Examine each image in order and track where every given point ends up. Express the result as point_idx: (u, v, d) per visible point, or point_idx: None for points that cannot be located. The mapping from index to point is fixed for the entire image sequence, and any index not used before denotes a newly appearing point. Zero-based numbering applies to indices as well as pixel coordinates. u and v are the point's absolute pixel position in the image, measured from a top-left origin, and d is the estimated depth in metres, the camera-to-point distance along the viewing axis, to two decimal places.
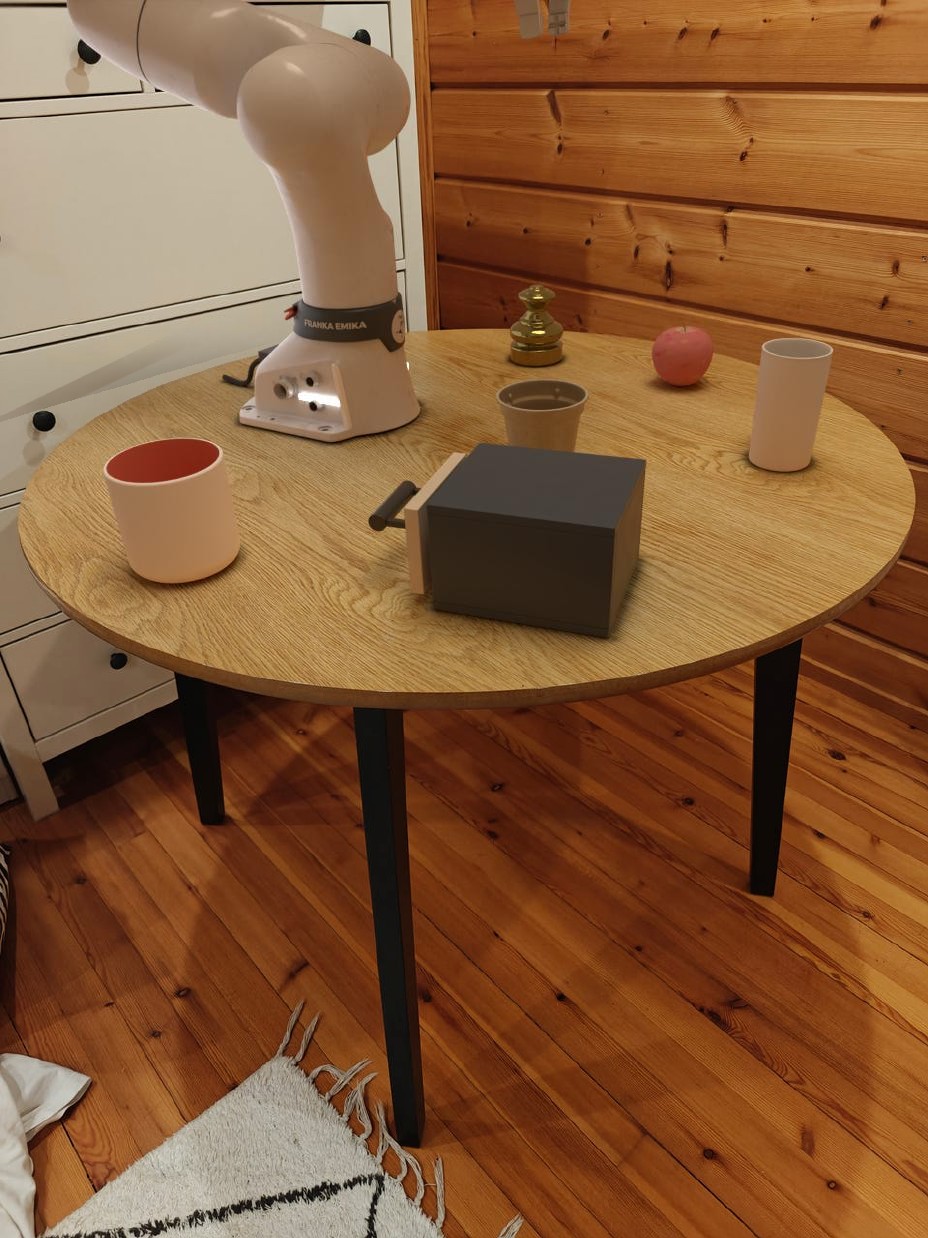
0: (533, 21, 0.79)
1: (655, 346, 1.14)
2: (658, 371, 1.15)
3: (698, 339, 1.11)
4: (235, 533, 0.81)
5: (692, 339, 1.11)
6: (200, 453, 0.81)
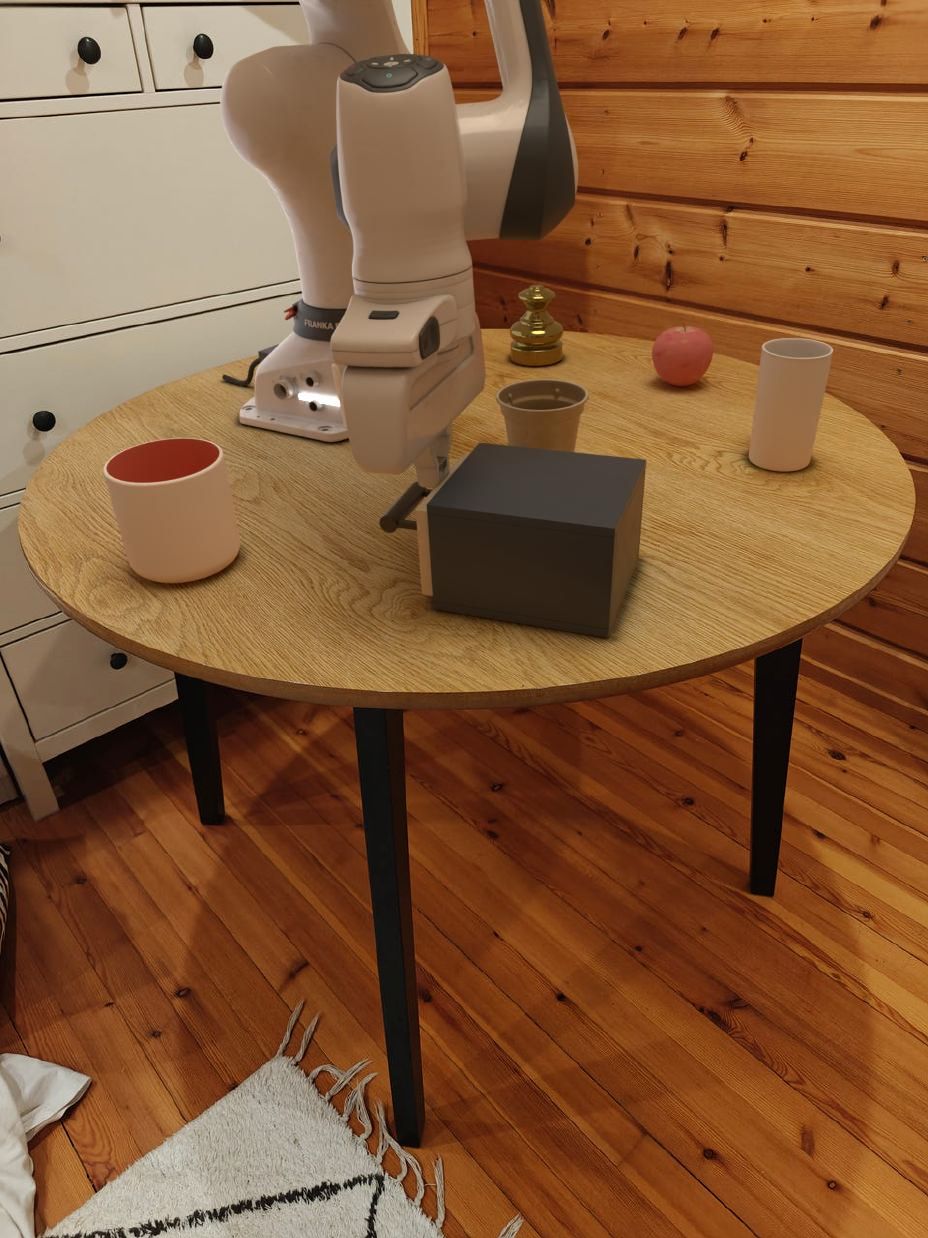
0: (431, 474, 0.73)
1: (655, 346, 1.14)
2: (658, 371, 1.15)
3: (698, 339, 1.11)
4: (235, 533, 0.81)
5: (692, 339, 1.11)
6: (200, 453, 0.81)
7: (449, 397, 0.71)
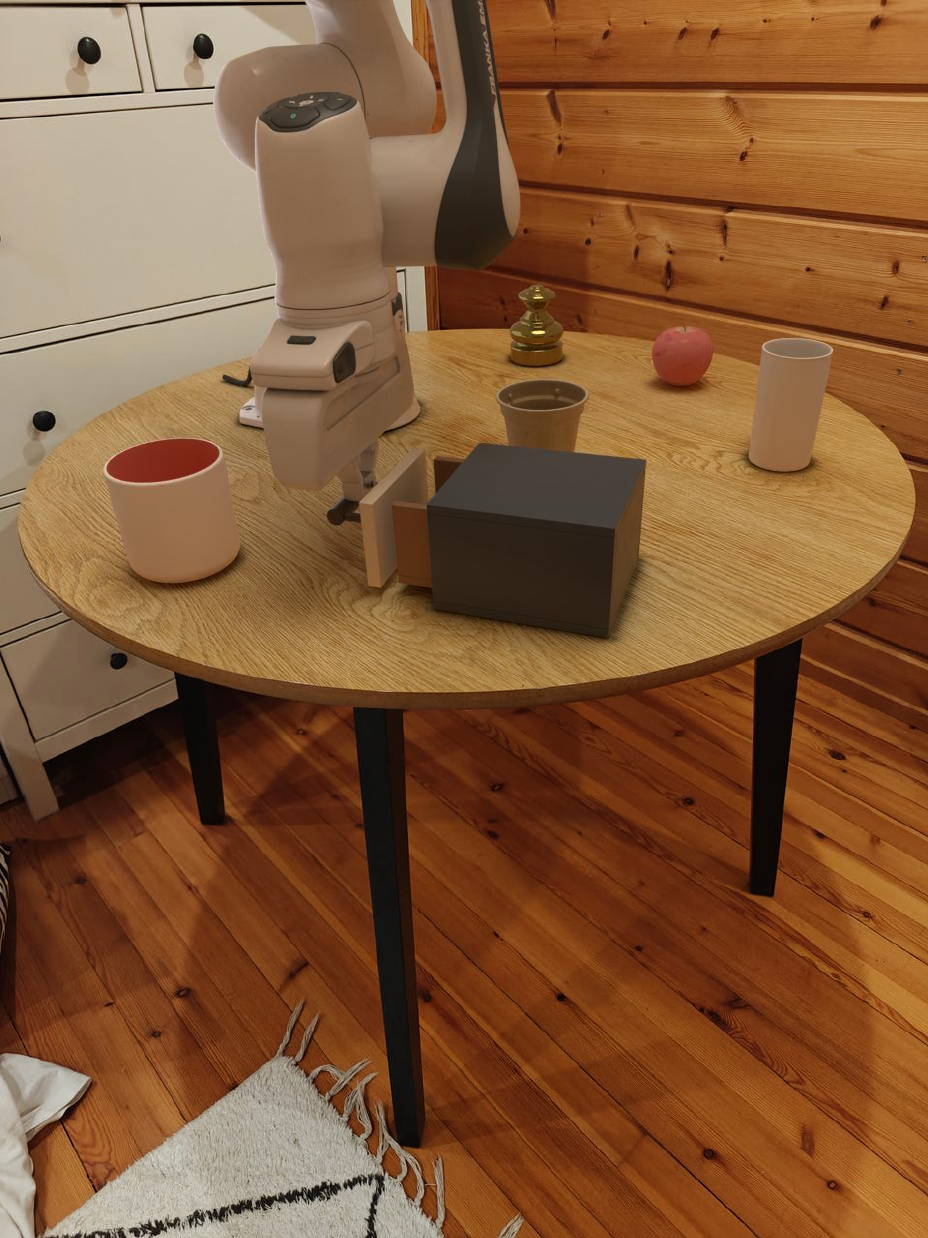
0: (356, 488, 0.76)
1: (655, 346, 1.14)
2: (658, 371, 1.15)
3: (698, 339, 1.11)
4: (235, 533, 0.81)
5: (692, 339, 1.11)
6: (200, 453, 0.81)
7: (372, 415, 0.74)
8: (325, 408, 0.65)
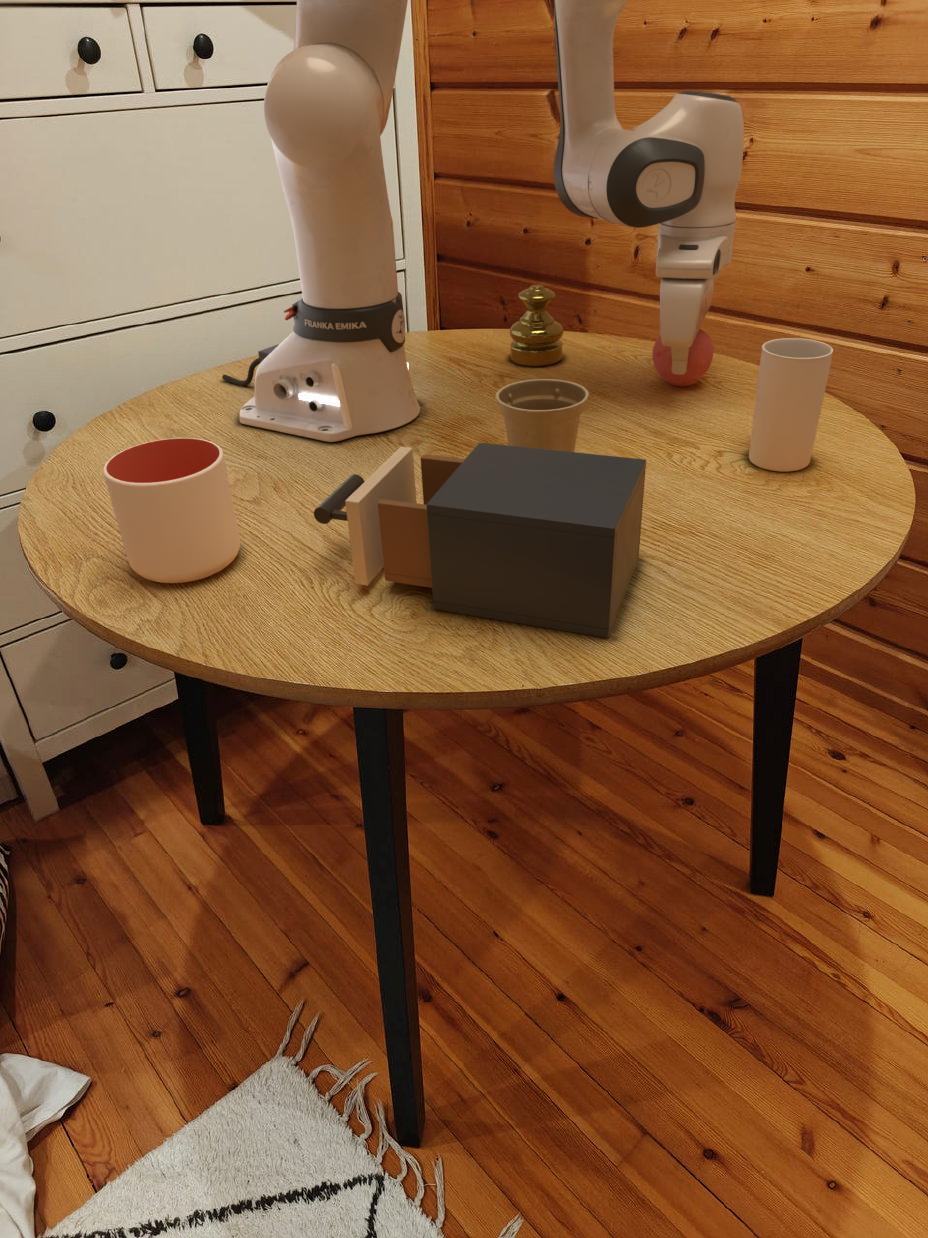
0: (682, 365, 1.10)
1: (655, 346, 1.14)
2: (658, 371, 1.15)
3: (698, 339, 1.11)
4: (235, 533, 0.81)
5: None
6: (200, 453, 0.81)
7: (704, 304, 1.11)
8: (704, 291, 1.02)
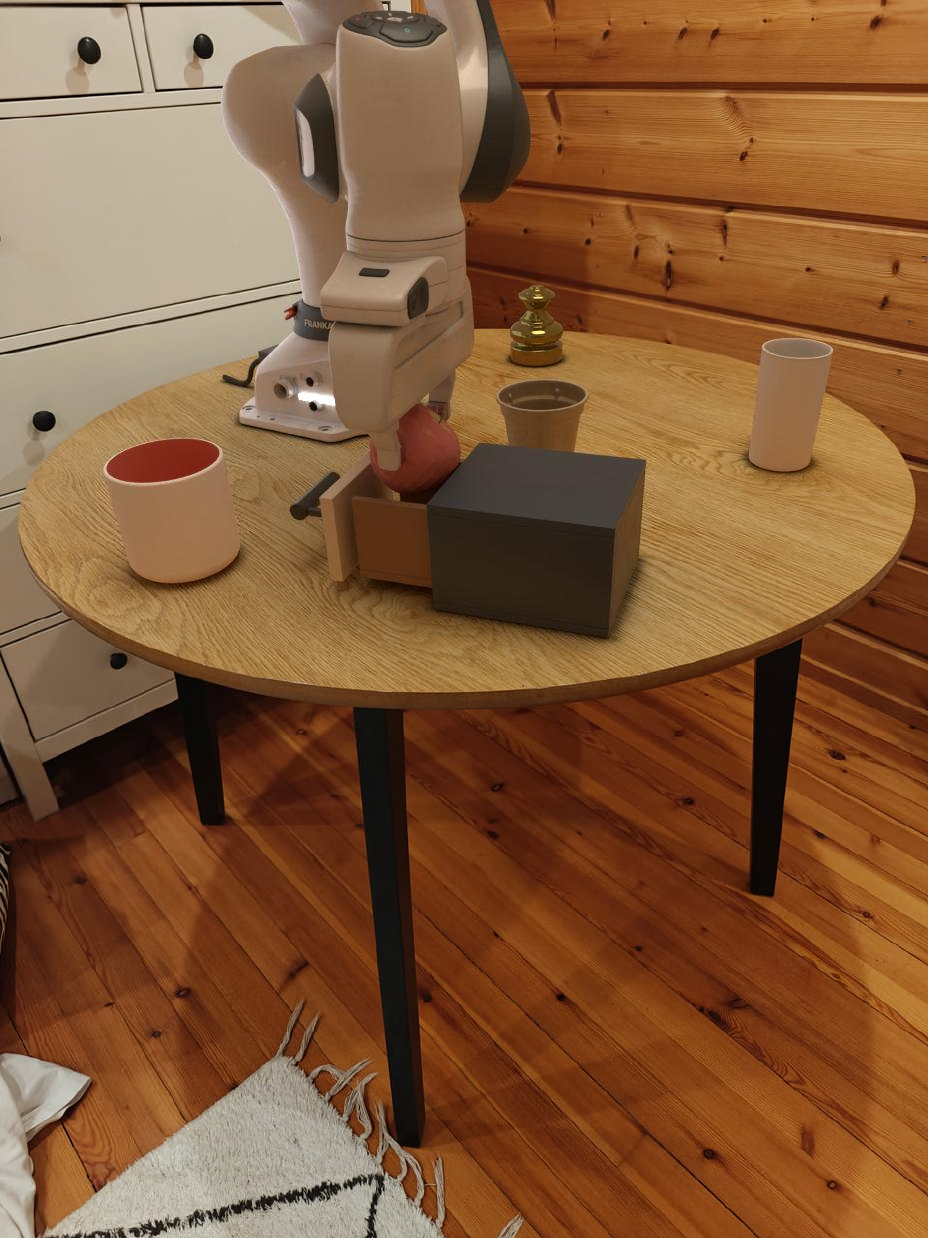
0: (392, 457, 0.70)
1: None
2: (372, 444, 0.74)
3: (446, 444, 0.73)
4: (235, 533, 0.81)
5: (439, 438, 0.72)
6: (200, 453, 0.81)
7: (435, 359, 0.72)
8: (396, 345, 0.62)
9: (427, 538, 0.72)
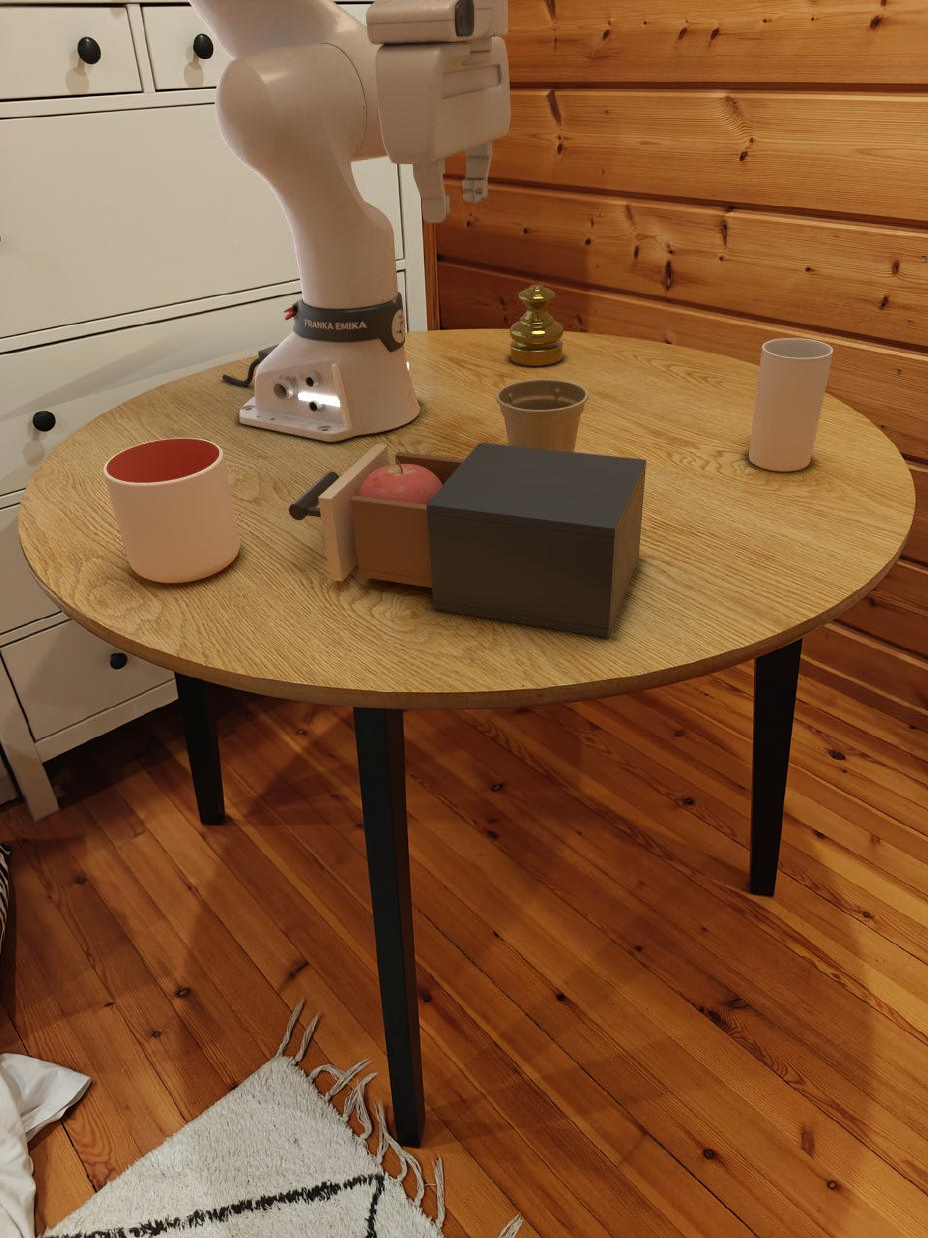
0: (437, 206, 0.70)
1: (359, 495, 0.75)
2: None
3: (420, 485, 0.74)
4: (235, 533, 0.81)
5: (411, 486, 0.73)
6: (200, 453, 0.81)
7: (477, 113, 0.71)
8: (444, 62, 0.62)
9: (426, 538, 0.72)
